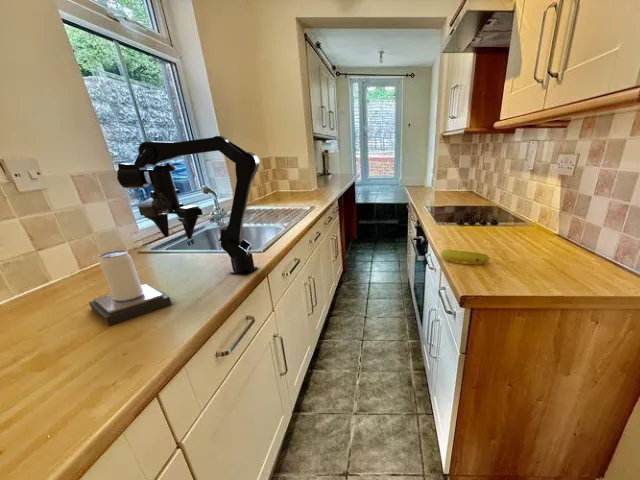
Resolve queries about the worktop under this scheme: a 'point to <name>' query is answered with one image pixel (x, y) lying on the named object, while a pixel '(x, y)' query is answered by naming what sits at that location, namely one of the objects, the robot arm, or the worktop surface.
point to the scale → (131, 309)
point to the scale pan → (115, 306)
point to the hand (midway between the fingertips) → (178, 237)
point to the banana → (464, 257)
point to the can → (121, 275)
